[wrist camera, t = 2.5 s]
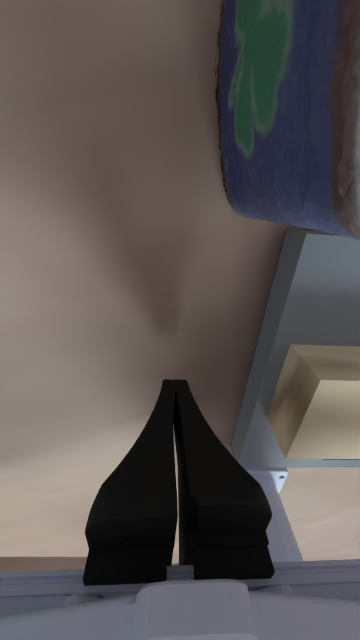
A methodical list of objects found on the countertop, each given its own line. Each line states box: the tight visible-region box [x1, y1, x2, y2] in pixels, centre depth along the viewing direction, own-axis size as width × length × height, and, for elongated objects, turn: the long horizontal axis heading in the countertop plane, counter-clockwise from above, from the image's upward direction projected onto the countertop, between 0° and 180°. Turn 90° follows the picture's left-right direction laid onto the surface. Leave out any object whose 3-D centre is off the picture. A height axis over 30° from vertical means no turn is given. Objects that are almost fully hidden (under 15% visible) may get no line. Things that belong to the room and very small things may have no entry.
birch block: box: [266, 344, 360, 459], centre depth 14 cm, size 6×6×3 cm
